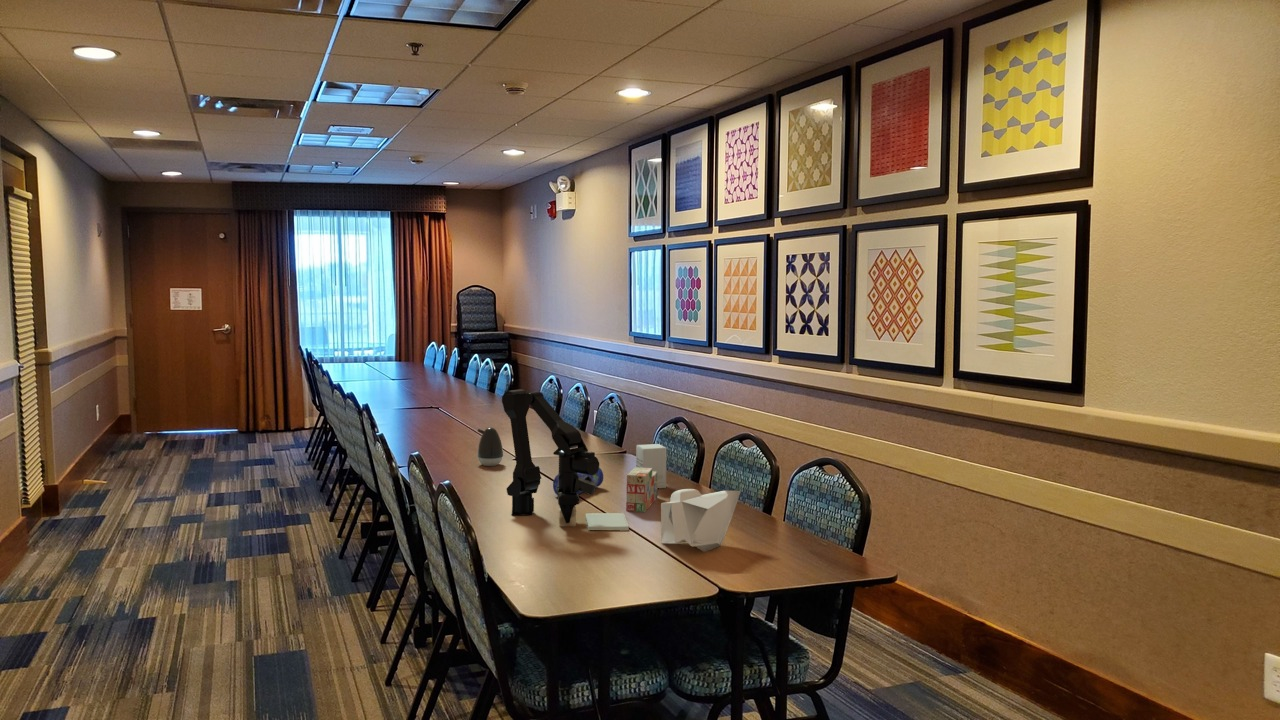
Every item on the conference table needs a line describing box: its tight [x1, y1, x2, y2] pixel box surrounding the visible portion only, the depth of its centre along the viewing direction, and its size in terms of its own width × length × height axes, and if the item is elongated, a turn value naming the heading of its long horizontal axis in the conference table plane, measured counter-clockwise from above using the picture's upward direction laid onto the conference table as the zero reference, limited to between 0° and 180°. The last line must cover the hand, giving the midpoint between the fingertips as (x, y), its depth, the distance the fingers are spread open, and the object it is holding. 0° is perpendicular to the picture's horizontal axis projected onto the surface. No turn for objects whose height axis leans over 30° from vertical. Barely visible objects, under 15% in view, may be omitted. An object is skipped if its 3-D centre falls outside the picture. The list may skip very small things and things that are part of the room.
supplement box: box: [635, 443, 667, 489], centre depth 335 cm, size 9×9×15 cm
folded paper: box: [660, 488, 742, 553], centre depth 260 cm, size 17×24×17 cm
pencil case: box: [552, 466, 604, 496], centre depth 324 cm, size 22×9×10 cm, turn 150°
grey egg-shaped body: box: [477, 427, 504, 467], centre depth 369 cm, size 10×10×15 cm
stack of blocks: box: [625, 466, 658, 513], centre depth 308 cm, size 21×6×12 cm, turn 168°
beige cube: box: [558, 505, 577, 527], centre depth 281 cm, size 5×5×5 cm
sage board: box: [585, 512, 629, 531], centre depth 283 cm, size 12×16×1 cm
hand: (567, 520), depth 282 cm, fingers closed on beige cube, 5 cm apart
